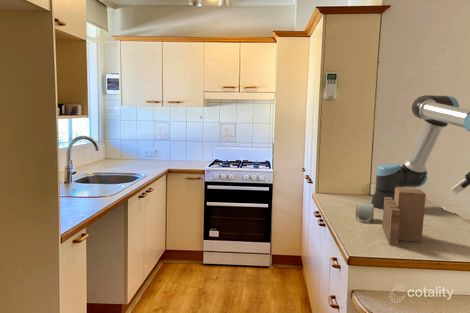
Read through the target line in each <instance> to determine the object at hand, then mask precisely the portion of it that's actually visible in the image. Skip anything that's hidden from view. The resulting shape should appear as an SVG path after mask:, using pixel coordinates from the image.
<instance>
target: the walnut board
mask: <svg viewBox="0 0 470 313" xmlns="http://www.w3.org/2000/svg"><path fill="white" fill-rule="evenodd" d="M382 210H383V214H382V225H381V226H382V230H383V232H384V235H385V238H386V241H387V243H388V245H389V246H396V247H397V246H399V245H398V243H399V240H398V233H399V220H400V210H399V208H398V207H397V205H396V203H395V202H394V200H393V199H392V197H384V209H382Z"/></svg>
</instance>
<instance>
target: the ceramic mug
mask: <svg viewBox="0 0 470 313" xmlns="http://www.w3.org/2000/svg"><path fill="white" fill-rule="evenodd" d="M374 208H375V207H374V205H373V204H371V203H367V204H366V203H365V204H364V203H359V204H356V206H355V218H356V219H357V220H358V222H360V223H362V222H363V223H364V224H367V223H369V222H370V221H374V216H375V215H374V214H375V212H374V210H375V209H374ZM363 223H362V224H363Z"/></svg>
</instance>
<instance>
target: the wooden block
mask: <svg viewBox="0 0 470 313" xmlns="http://www.w3.org/2000/svg"><path fill="white" fill-rule="evenodd" d="M426 195H427V194H426V193H425V191H423V190H422V189H420V188H412V187H401V188H398V187H396V188H395V195H394V202H395V203H396V205H397V207H398V208H399V210H400V220H399V233H398V241H404V242H405V241H406V242H407V241H408V242H417V243H418V242H419V243H421V242H422V241H423V240H422V239H423V230H424V219H425V206H426V197H427V196H426Z"/></svg>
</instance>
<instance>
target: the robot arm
mask: <svg viewBox="0 0 470 313" xmlns="http://www.w3.org/2000/svg"><path fill="white" fill-rule="evenodd" d="M459 104H460V103H459V101H458V100H457V99H456V98H455V97H454V96H450V95H429V94H427V95H425V94H424V95H420V96H419V97H417V98H416V99H414V101H413V102H412V105H411V112H412V115H414V117H416V118H418V119H421V120H423V121H424V123H423V126H422V127H421V129H420V132H419V134H418V137H417V139H416V141H415V144H414V146H413V148H412V151H411V153H410V155H409V157H408V159H405V160H404V162H403V164H402V165H401V166H400V164H398V163H394V162H393V163H382V164H379V165H378V166H377V169H376V173H375V174H376V175H375V176H376V177H375V178H376V179H375V191H374V194H373V196H372V198H371V201H370V204H373V205H374V208H376V209H381V210H384V197H392V199H393V200H394V195H395V188H396V187H398V188H413V189H415V188H419V187H422V186H423V185H425V184H426V182H427V181H428V171H427V167H426V164H427V161H428V159H429V157H430V155H431V153H432V151H433V150H434V146H435V145H436V142H437V140H438V138H439V136H440V134H441V131H442V130H443V129H444V128H445V127H446V128H447V126H448V124H449V125H453V126H456V127H460V128H464V129H465V130H466V131H468V132H470V109H468V108H462V107H460V105H459ZM469 186H470V171H469V172H468V173H466V174H465V175H464V179H461V181H459V182H458V183H457V184H455V185H453V187H451V188H450V189H451V190H452V191H453V193H454V194H456V195H458V194H459V193H461V192H463V191H464V190H465V189H466V188H468V187H469Z"/></svg>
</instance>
